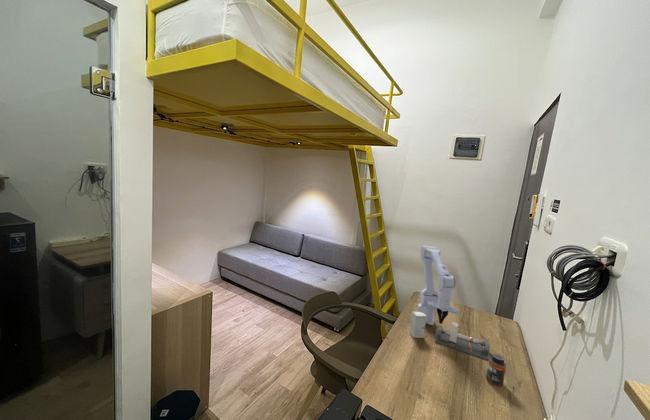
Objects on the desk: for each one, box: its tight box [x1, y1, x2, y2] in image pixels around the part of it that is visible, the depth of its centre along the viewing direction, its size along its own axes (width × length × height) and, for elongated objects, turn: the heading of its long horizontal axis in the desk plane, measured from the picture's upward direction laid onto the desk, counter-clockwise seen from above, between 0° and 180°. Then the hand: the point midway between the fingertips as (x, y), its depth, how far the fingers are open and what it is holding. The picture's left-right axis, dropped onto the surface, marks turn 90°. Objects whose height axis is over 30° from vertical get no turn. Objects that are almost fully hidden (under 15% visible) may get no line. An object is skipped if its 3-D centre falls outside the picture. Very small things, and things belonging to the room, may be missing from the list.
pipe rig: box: [434, 324, 492, 361], centre depth 123 cm, size 24×12×6 cm, turn 64°
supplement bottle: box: [485, 352, 507, 387], centre depth 100 cm, size 6×6×11 cm
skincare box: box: [409, 311, 427, 339], centre depth 127 cm, size 6×4×12 cm
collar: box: [449, 321, 459, 343], centre depth 124 cm, size 3×5×8 cm, turn 154°
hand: (440, 322), depth 127 cm, fingers closed
